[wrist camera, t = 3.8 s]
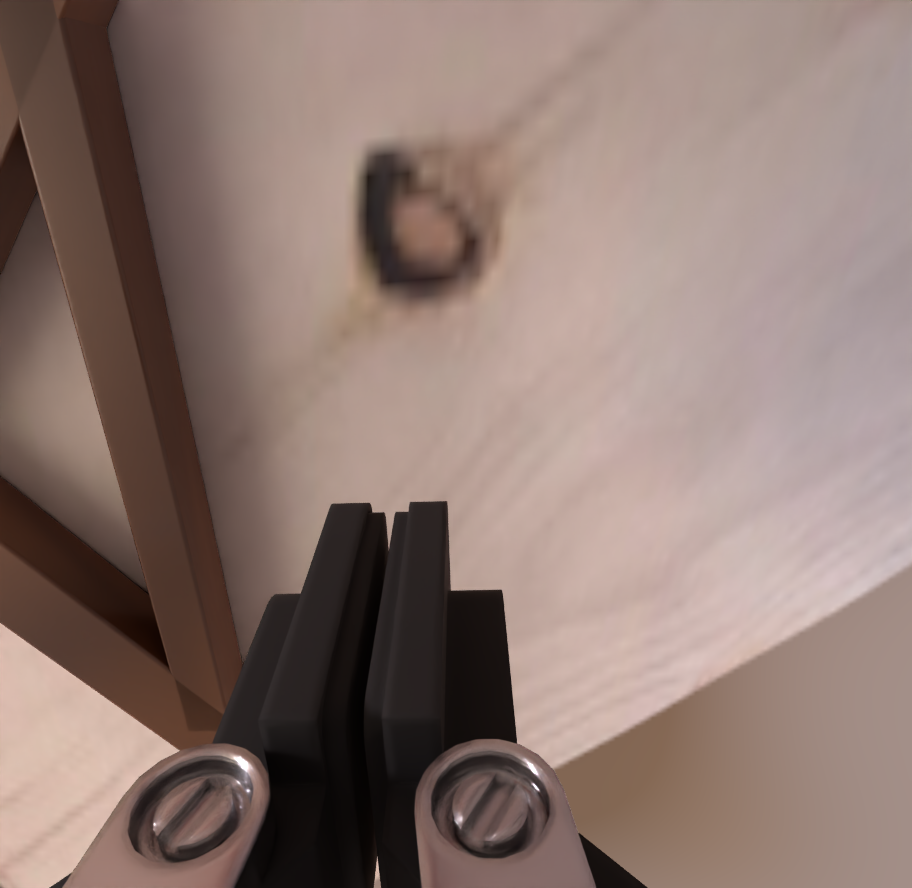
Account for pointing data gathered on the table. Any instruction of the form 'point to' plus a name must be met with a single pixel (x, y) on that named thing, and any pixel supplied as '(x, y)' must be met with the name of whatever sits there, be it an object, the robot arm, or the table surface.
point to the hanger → (109, 396)
